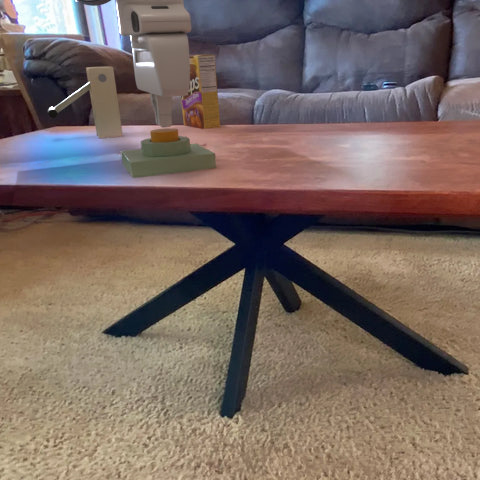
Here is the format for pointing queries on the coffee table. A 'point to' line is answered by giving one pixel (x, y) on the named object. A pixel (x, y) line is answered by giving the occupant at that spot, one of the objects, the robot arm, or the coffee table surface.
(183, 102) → the candy box
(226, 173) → the coffee table surface
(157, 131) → the button
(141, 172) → the button box
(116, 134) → the switch bracket
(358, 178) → the coffee table surface
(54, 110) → the switch lever
